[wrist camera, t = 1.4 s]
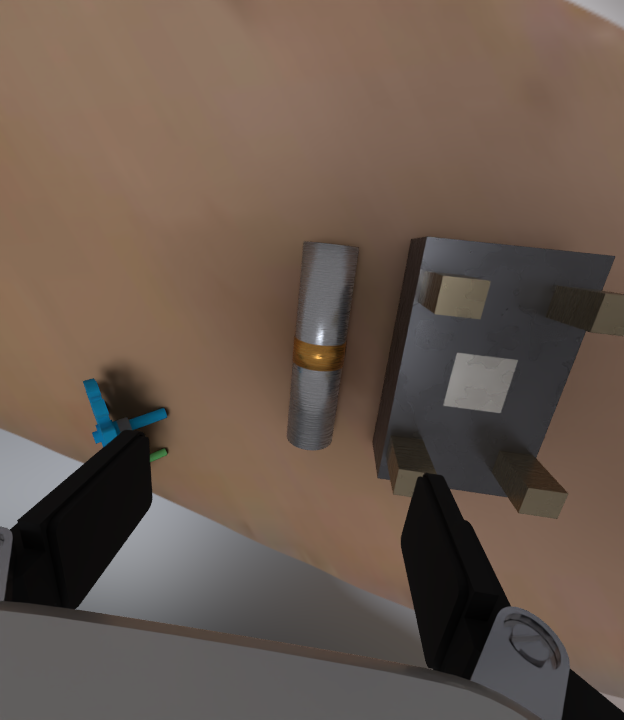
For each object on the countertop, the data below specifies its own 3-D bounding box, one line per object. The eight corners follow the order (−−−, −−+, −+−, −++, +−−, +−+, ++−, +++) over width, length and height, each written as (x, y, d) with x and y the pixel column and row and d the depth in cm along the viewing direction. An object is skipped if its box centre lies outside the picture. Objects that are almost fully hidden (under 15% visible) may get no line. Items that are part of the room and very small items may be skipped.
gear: (68, 365, 29) (85, 419, 22) (139, 348, 32) (174, 391, 26) (101, 458, 34) (124, 525, 27) (160, 435, 37) (194, 490, 30)
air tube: (298, 241, 25) (309, 241, 21) (349, 247, 26) (368, 248, 22) (283, 424, 30) (289, 451, 26) (326, 424, 31) (338, 449, 27)
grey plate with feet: (561, 255, 24) (681, 257, 15) (492, 459, 30) (551, 543, 21) (411, 239, 24) (446, 233, 16) (372, 442, 30) (383, 517, 22)
